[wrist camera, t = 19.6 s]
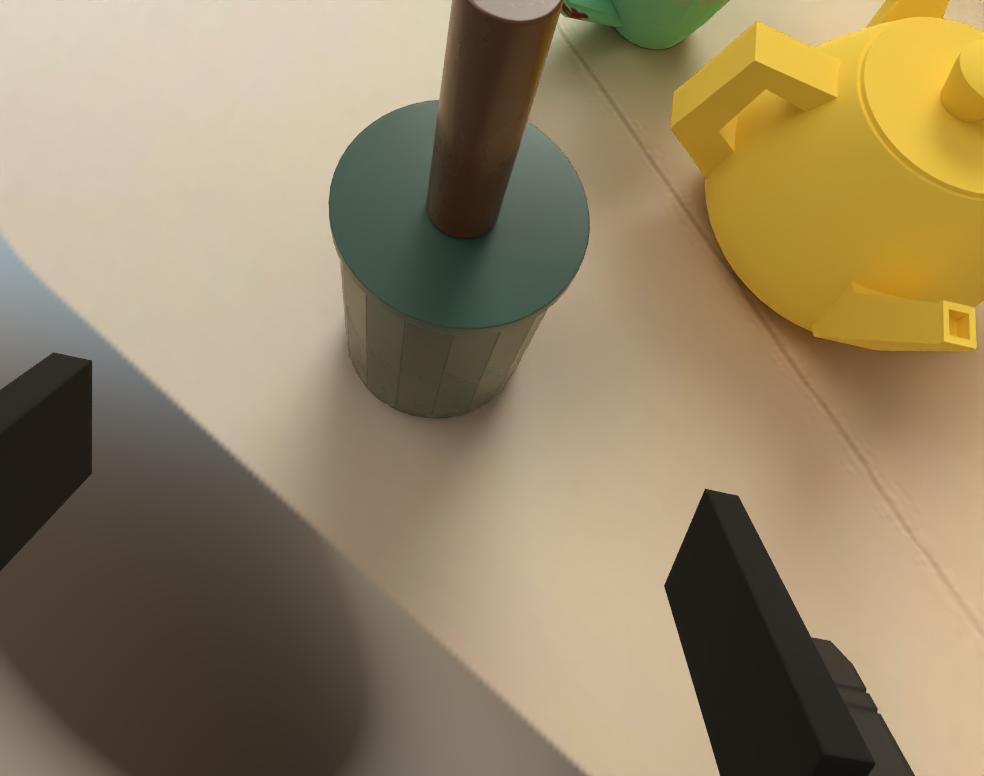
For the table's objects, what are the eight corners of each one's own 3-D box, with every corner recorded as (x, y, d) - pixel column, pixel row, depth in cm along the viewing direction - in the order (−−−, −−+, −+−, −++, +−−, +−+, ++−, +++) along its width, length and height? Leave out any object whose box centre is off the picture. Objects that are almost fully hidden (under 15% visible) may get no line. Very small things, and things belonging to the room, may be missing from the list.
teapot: (1024, 288, 41) (1270, 155, 30) (810, 434, 36) (1008, 340, 25) (836, 62, 44) (994, -134, 33) (616, 168, 39) (714, -20, 28)
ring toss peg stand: (345, 356, 23) (329, 160, 14) (317, 127, 26) (286, -173, 16) (604, 329, 25) (748, 138, 16) (554, 116, 28) (651, -161, 18)
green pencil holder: (358, 429, 33) (353, 338, 23) (338, 267, 35) (325, 121, 25) (532, 407, 34) (597, 313, 25) (502, 253, 37) (550, 112, 27)
